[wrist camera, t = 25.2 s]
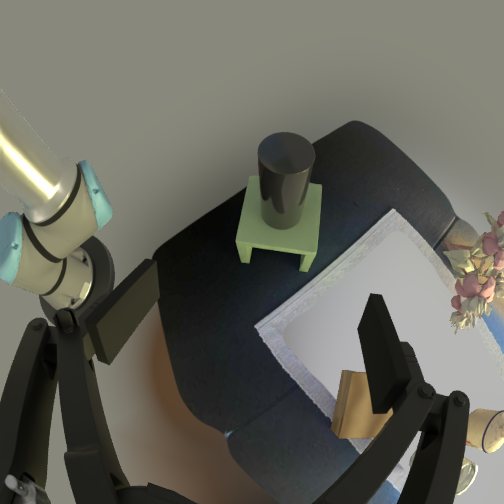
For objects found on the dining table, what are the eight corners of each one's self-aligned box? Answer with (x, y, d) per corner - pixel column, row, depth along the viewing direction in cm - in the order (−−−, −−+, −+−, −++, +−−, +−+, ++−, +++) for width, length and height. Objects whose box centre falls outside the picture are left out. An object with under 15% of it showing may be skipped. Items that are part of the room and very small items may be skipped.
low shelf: (330, 428, 39) (338, 438, 34) (342, 370, 43) (352, 372, 37) (386, 428, 38) (400, 436, 32) (397, 372, 42) (412, 374, 36)
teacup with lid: (453, 446, 34) (485, 458, 23) (466, 407, 37) (501, 412, 26) (485, 443, 32) (516, 450, 21) (497, 407, 35) (529, 409, 24)
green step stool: (241, 262, 51) (235, 241, 41) (252, 204, 54) (249, 174, 45) (307, 272, 49) (316, 253, 40) (313, 213, 53) (322, 184, 44)
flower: (387, 265, 47) (497, 284, 23) (444, 196, 49) (536, 186, 25) (424, 333, 50) (510, 371, 26) (473, 265, 52) (552, 276, 28)
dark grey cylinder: (257, 226, 42) (253, 170, 29) (263, 191, 44) (262, 129, 31) (300, 233, 41) (313, 178, 28) (303, 196, 43) (316, 135, 30)
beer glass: (440, 450, 34) (483, 467, 20) (419, 476, 33) (457, 501, 19) (423, 437, 36) (467, 455, 22) (400, 465, 35) (439, 491, 21)
